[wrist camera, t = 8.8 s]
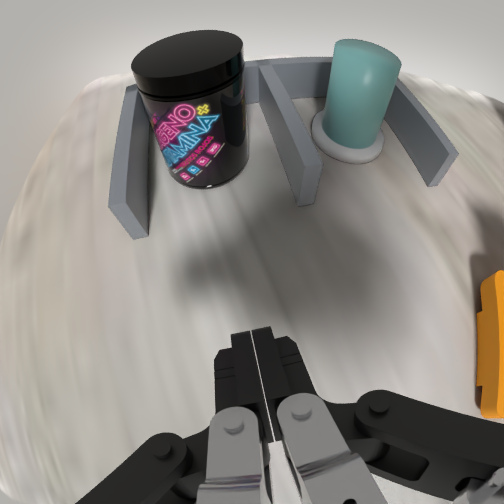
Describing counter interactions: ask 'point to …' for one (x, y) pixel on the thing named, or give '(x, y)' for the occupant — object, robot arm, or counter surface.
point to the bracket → (491, 346)
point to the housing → (301, 123)
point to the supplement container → (196, 105)
